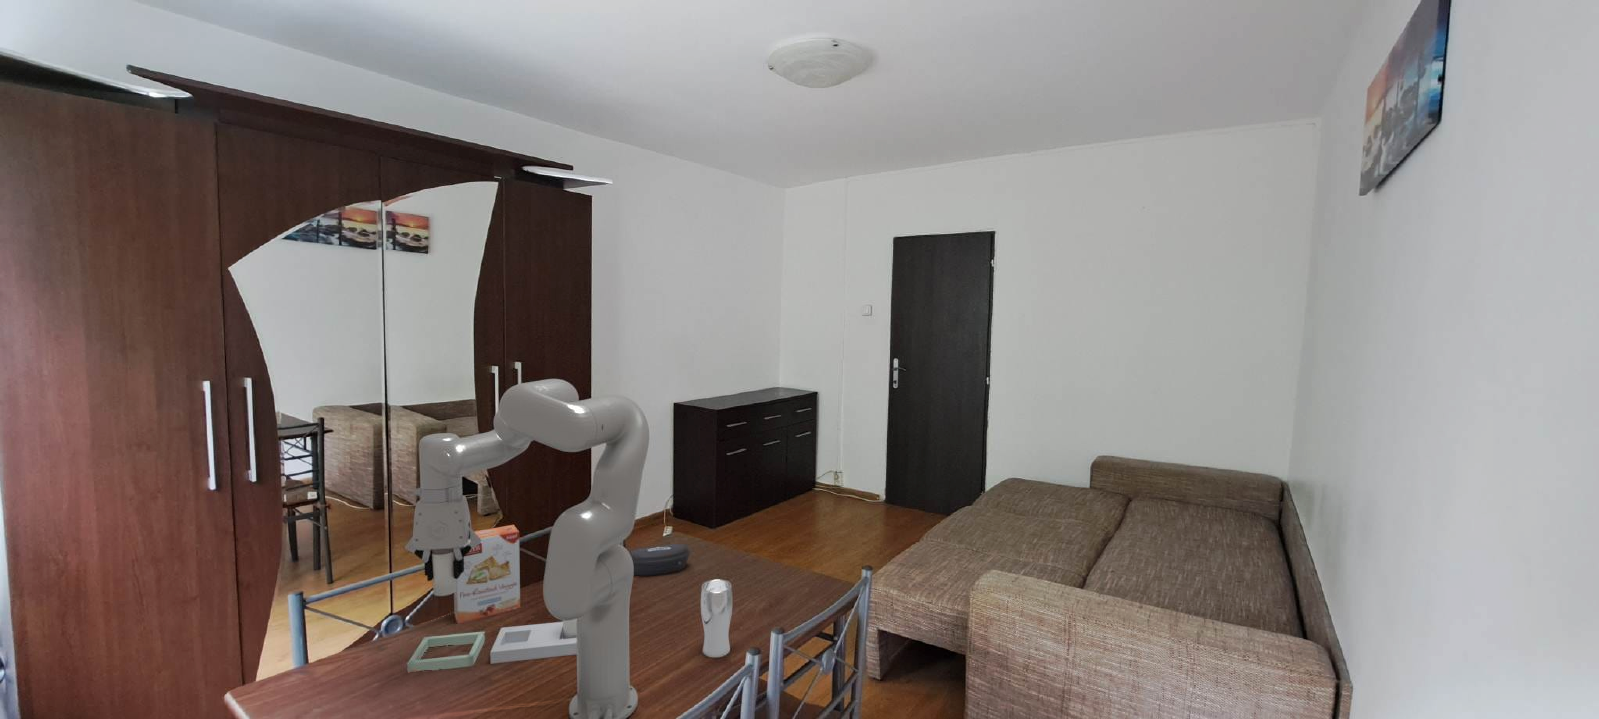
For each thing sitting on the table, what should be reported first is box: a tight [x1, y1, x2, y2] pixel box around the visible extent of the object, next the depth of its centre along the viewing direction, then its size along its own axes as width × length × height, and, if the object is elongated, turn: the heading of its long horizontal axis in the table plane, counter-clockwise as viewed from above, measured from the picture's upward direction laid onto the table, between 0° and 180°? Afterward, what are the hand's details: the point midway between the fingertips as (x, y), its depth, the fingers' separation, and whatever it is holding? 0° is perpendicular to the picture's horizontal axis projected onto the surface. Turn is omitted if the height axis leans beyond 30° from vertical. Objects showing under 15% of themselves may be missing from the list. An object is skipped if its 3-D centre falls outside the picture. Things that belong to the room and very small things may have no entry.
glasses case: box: [629, 543, 691, 577], centre depth 180 cm, size 18×10×8 cm, turn 111°
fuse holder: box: [489, 621, 577, 665], centre depth 138 cm, size 10×20×4 cm, turn 104°
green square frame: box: [406, 631, 486, 671], centre depth 134 cm, size 10×12×3 cm
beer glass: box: [700, 578, 733, 659], centre depth 139 cm, size 7×7×15 cm
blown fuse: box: [431, 549, 457, 597], centre depth 132 cm, size 5×5×11 cm
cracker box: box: [453, 524, 521, 625], centre depth 152 cm, size 14×6×21 cm, turn 126°
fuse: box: [562, 619, 577, 639], centre depth 139 cm, size 5×5×11 cm
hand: (444, 576), depth 132 cm, fingers closed on blown fuse, 4 cm apart
